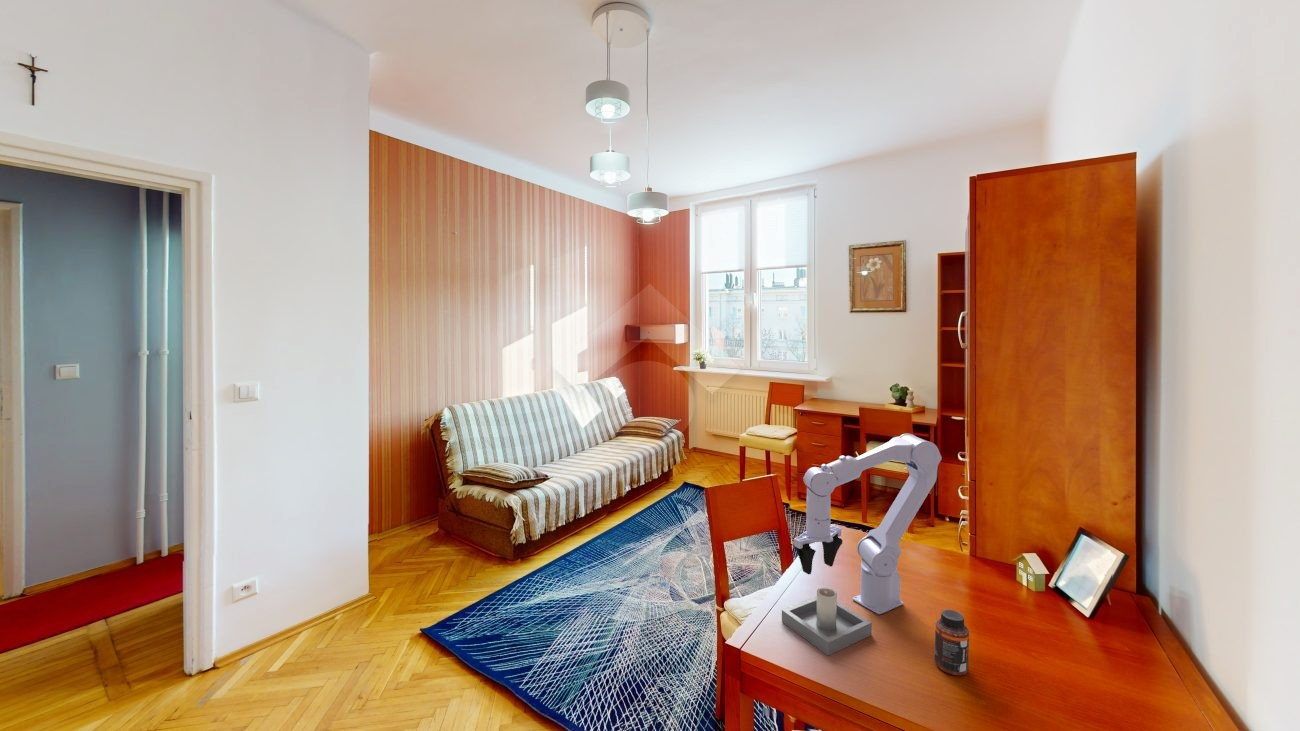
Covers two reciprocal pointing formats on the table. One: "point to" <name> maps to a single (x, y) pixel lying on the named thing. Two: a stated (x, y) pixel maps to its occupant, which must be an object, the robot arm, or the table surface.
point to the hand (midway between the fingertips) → (817, 568)
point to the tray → (829, 642)
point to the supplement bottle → (952, 643)
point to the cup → (826, 609)
